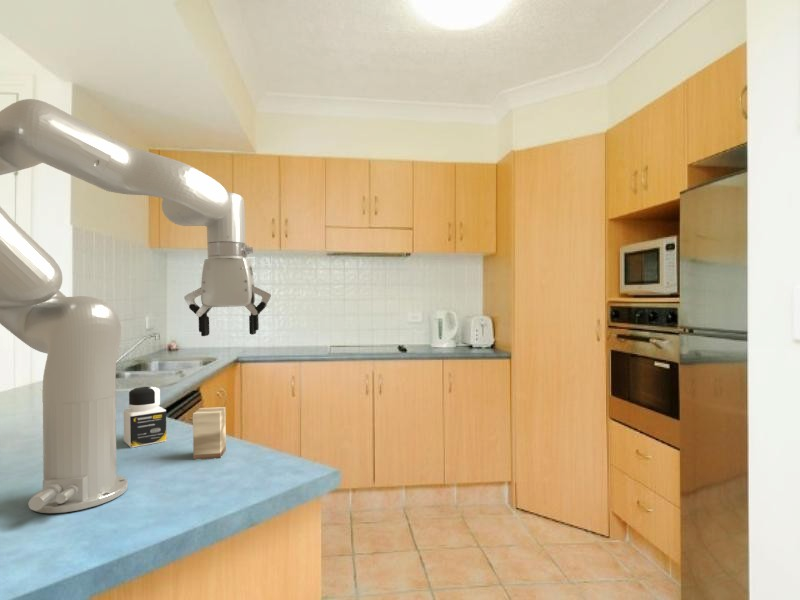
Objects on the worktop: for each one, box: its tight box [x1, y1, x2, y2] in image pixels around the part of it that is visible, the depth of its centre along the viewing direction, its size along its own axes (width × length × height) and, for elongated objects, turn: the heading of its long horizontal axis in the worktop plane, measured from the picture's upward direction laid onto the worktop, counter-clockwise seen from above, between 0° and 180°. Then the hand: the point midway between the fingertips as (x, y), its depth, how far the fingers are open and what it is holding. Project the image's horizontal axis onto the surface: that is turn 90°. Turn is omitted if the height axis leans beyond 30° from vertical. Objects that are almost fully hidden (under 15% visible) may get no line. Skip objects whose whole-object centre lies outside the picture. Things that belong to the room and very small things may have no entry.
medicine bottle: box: [123, 386, 167, 449], centre depth 104 cm, size 7×7×12 cm
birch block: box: [192, 406, 227, 461], centre depth 93 cm, size 5×5×9 cm
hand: (229, 334), depth 97 cm, fingers open, 9 cm apart
